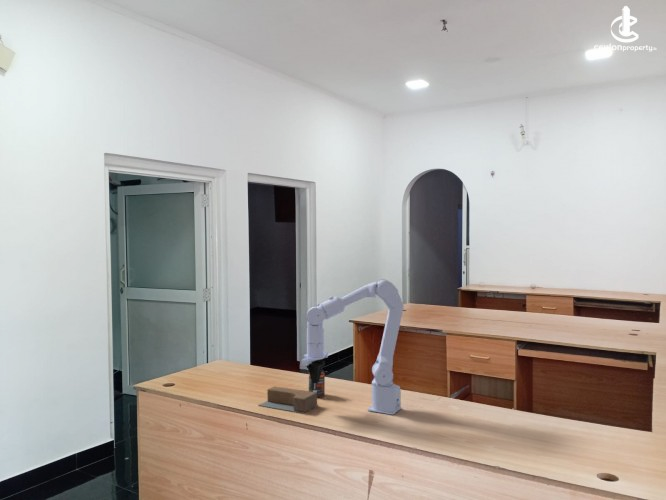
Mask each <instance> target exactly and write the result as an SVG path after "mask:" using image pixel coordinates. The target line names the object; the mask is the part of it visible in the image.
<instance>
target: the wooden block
mask: <svg viewBox="0 0 666 500" xmlns="http://www.w3.org/2000/svg"><path fill="white" fill-rule="evenodd" d="M266 391H267V401H269V402H275V403H281V404H288V405H293V406H294V410H295V411H301V412H305V413H307V412H308V411H310V410H311V408H312V407H314V406H315V407H317V406H318V405H317V404H318V397H317V392H311V391H309V390H303V389H295V388H288V387H281V386H272V387H269V388H268V389H267V390H266ZM316 405H317V406H316ZM315 407H314V408H315ZM309 409H310V410H309ZM312 409H313V408H312ZM307 410H308V411H307ZM306 411H307V412H306Z"/></svg>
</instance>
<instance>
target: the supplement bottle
mask: <svg viewBox="0 0 666 500" xmlns="http://www.w3.org/2000/svg"><path fill="white" fill-rule="evenodd" d="M325 374H326V373H325V371H324V370H323V369H322V372H321V375H320V380H319V383H312V381H311V377H310V373H309V372H308V391H311V392H317V398H323V396H325V393H326V392H325V391H326V390H325V389H326V388H325V383H326V382H325V378H326V377H325Z"/></svg>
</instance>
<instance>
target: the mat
mask: <svg viewBox="0 0 666 500" xmlns="http://www.w3.org/2000/svg"><path fill="white" fill-rule="evenodd" d="M258 407H263V408H268V409H269V408H270V409H275V410H279V411H286V412H292V413H298V414H305V413H307V412H308V411H310V410H311V409H313V408H315V407H318V403H317V405H316V406H314V407H312V408H311V409H309V410H307V411H306V412H301V411H295V410H294V406H293V405H288V404H281V403H275V402H269V401H268V400H266V401H264V402H263V403H259V404H258Z"/></svg>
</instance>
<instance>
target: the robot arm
mask: <svg viewBox="0 0 666 500" xmlns="http://www.w3.org/2000/svg"><path fill="white" fill-rule="evenodd" d="M377 297H378V298H379V299H381V300H382V301H383V303H384V304H385V306H386V307H387V308H388V309H387V314H386V320H385V325H384V328H383V334H382V338H381V342H380V343H381V344H380V347H379V352H378V354H377V358H376V361H375V363H374V364H373V365H372V367H371V372H372V373H371V374H372V375H373V379H372V381H371V406H370V407H368V408H367V410H366V411H368V412H374V413H381V414H387V415H395V414H396V413H397V412H400V410H401V409H402V406H401V405H402V404H401V403H402V402H401V401H402V400H401V393H402V391H401V387H400V386H399V385H397V384H395V383H394V381H393V380H394V372H393V365H394V355H395V350H396V345H397V341H398V337H399V336H398V335H399V331H400V325H401V320H402V317H403V312H404V303H403V301H402V298H401V295H400V294H399V289H398V288H397V287H396V285H394V283H392V282H391V281H389V280H387V279H385V278H382V279H381V278H380V279H378V280H376V281H373V282H370V283H367V284H365V285H363V286H361V287H360V288H357V289H355V290H353V291H352V292H350V293H348V294H346V295H345V296H342V297H339V296H337V295H336V296H332V295H331V296H329V297H328V299H327V300H325V301H323V302H321V303H319V302H318V303H317V304H316V306H311V307H310V308H309V309H308V310H307V312H306V317H305V318H306V321H307V323H306V327H307V328H306V354H303V357H304V358H302V359H301V366H304V367H306V368H307V371H308V374H309V373H310V377H311V381H312V383H319V380H320V375H321V372H322V370H323V368H324V366H325V365H326V361H325V360H323V359H326V358H328V357H329V351H325V350H324V346H325V345H324V341H325V338H324V337H325V335H324V328H323V325H324V324H323V322H324V320H329V319H330V318H333V317H335V316H337V315H339V314H342V313H343V312H344V310H345V307H346V306H349V305H351V304H353V303H356V302H358V301H360V300H362V299H365V298H375V299H376V298H377Z"/></svg>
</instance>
